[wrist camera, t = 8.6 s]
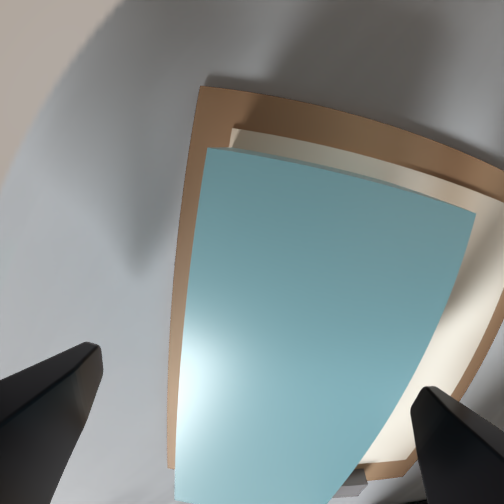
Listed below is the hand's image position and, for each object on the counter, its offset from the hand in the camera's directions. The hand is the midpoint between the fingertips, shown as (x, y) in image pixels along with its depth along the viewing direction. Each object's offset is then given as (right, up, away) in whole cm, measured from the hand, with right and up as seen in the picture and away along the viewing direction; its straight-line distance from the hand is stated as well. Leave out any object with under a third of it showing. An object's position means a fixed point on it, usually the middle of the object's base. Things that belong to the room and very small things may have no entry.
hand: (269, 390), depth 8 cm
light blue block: (0, +1, +2) cm, 2 cm away
